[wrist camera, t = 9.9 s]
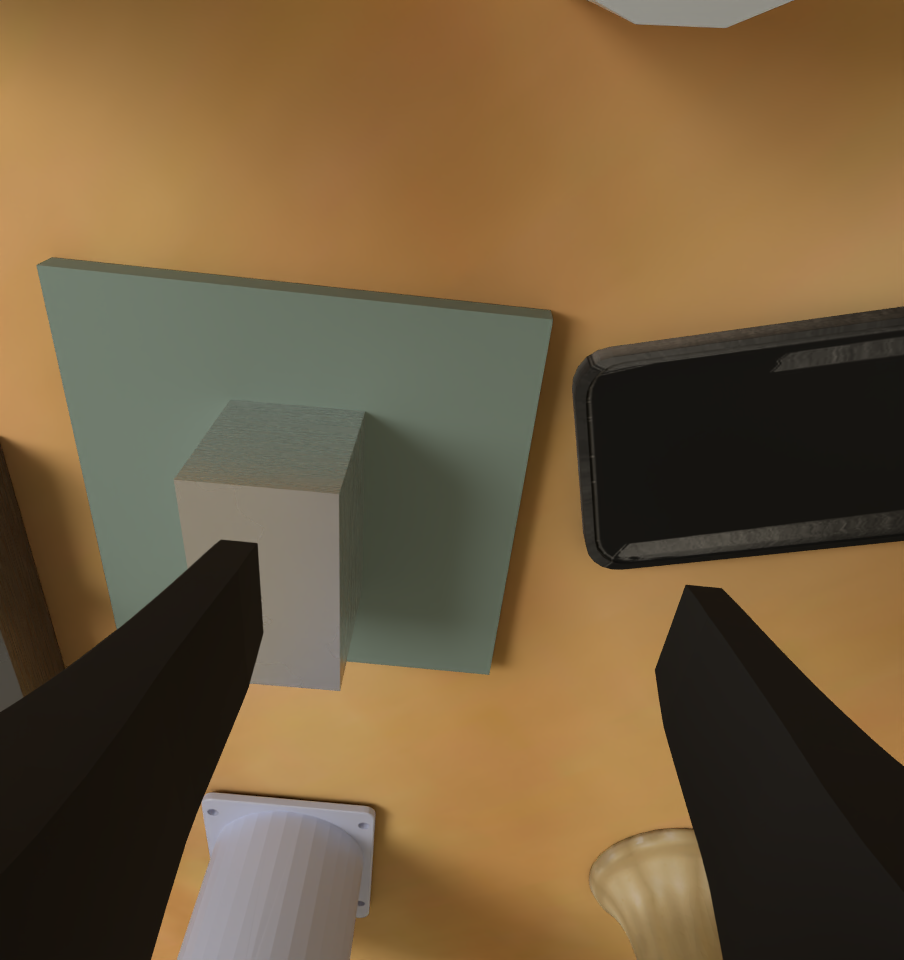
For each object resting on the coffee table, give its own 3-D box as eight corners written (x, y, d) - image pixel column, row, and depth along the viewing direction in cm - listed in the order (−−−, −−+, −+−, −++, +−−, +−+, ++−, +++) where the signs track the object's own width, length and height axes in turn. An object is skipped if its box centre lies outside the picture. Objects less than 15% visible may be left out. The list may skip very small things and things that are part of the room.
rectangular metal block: (362, 589, 24) (340, 690, 20) (248, 579, 24) (204, 679, 20) (365, 411, 21) (338, 494, 17) (230, 399, 21) (173, 480, 17)
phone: (1063, 524, 22) (588, 573, 24) (1039, 504, 23) (583, 553, 25) (1155, 278, 18) (572, 359, 20) (1121, 266, 19) (567, 344, 20)
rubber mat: (488, 658, 27) (489, 674, 26) (128, 624, 27) (119, 640, 26) (550, 309, 20) (552, 319, 19) (52, 257, 19) (36, 264, 19)
